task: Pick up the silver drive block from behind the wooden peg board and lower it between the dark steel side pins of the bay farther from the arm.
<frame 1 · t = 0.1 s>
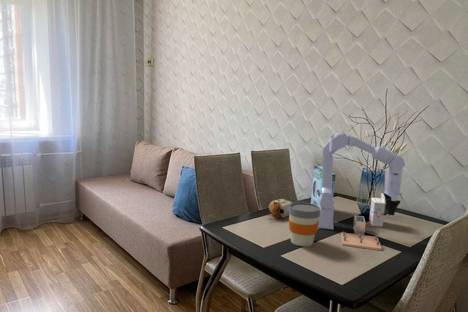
hand: (389, 212, 151), 10 cm above the table, tool pointing down, fingers open, 7 cm apart
reusable coffee cup: (301, 242, 141), on the table
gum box: (320, 213, 179), on the table
drive: (358, 231, 155), on the table
nautilus: (277, 216, 171), on the table
ink cartridge box: (375, 223, 165), on the table
wooden peg board: (360, 241, 143), on the table
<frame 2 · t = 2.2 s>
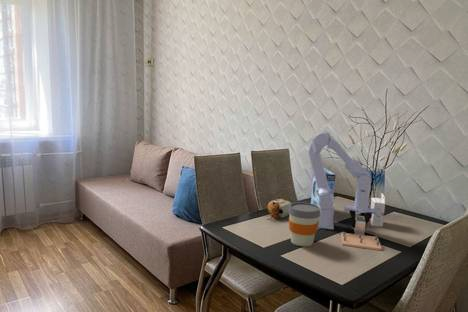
hand: (358, 227, 154), 2 cm above the table, tool pointing down, fingers closed on drive, 4 cm apart
drive: (358, 231, 155), on the table, touching gripper
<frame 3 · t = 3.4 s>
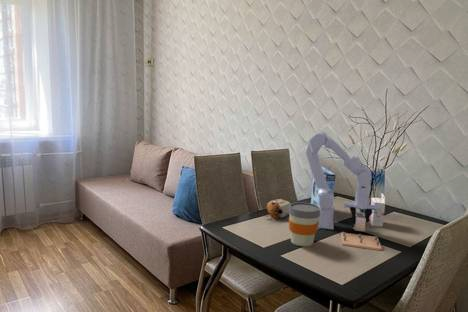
hand: (359, 224, 154), 3 cm above the table, tool pointing down, fingers closed on drive, 4 cm apart
drive: (358, 227, 155), point 2 cm above the table, touching gripper
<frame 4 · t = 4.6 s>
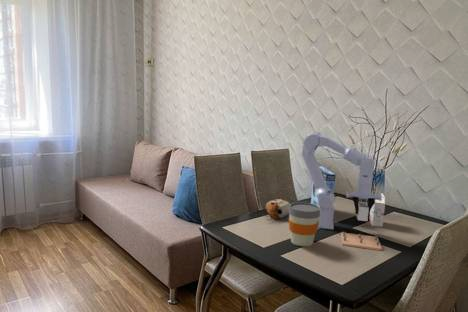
hand: (361, 214, 152), 9 cm above the table, tool pointing down, fingers closed on drive, 4 cm apart
drive: (361, 217, 152), point 7 cm above the table, touching gripper
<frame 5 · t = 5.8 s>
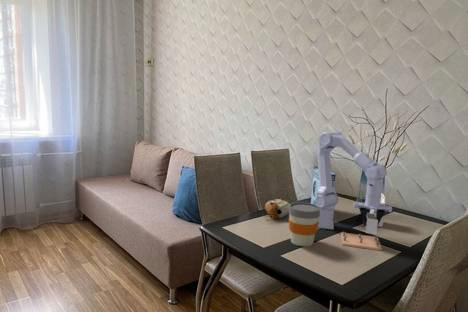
hand: (370, 226, 141), 7 cm above the table, tool pointing down, fingers closed on drive, 4 cm apart
drive: (369, 230, 141), point 6 cm above the table, touching gripper
when the fingers open (4 cm above the table, at t = 6.8 s): drive drops 2 cm, resting on wooden peg board.
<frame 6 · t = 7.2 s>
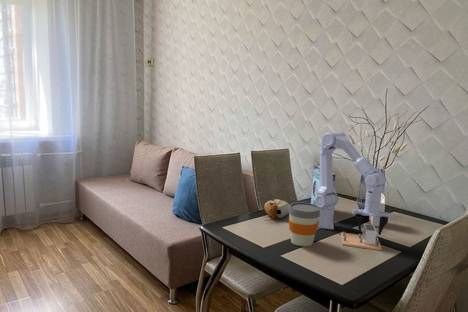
hand: (369, 232, 141), 4 cm above the table, tool pointing down, fingers open, 7 cm apart
drive: (368, 241, 142), point 1 cm above the table, touching wooden peg board
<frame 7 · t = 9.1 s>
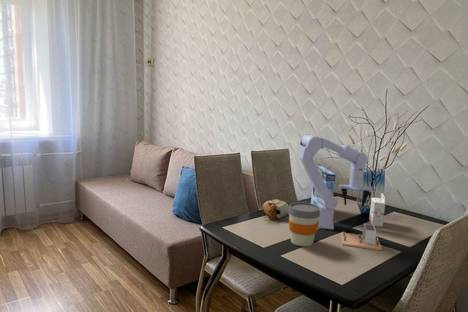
hand: (353, 205, 161), 9 cm above the table, tool pointing down, fingers open, 7 cm apart
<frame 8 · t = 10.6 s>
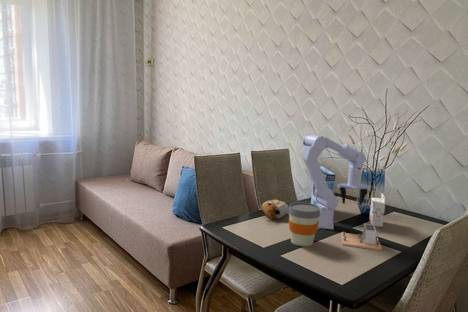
hand: (351, 203, 164), 9 cm above the table, tool pointing down, fingers open, 7 cm apart
at the end: drive 0.1 cm from the target spot on the wooden peg board, point 0.8 cm above the wooden peg board's base; drive tilted 0°; the gripper is holding nothing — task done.
